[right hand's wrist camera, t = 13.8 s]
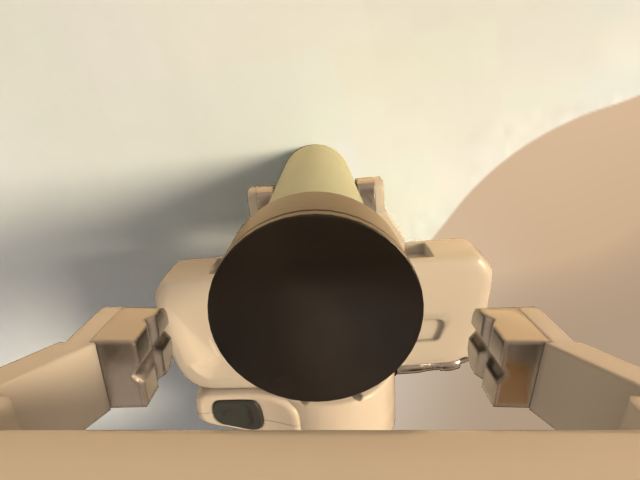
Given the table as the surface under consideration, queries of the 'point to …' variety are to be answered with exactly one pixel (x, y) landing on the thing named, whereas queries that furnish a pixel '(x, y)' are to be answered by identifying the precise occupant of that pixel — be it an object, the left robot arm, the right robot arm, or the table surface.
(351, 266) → the lid
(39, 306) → the table surface
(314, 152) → the pale green tall cylinder
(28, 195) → the table surface
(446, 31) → the table surface
